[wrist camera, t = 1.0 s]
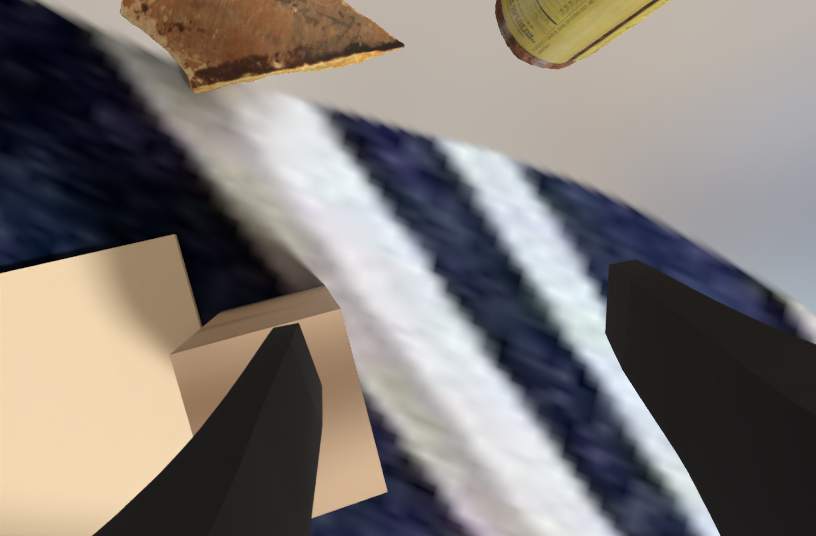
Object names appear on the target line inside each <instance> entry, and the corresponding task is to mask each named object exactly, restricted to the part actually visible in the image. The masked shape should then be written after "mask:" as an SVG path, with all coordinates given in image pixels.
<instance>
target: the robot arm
mask: <svg viewBox="0 0 816 536" xmlns="http://www.w3.org/2000/svg"><path fill="white" fill-rule="evenodd" d="M605 334H606V336H607V338H608V340H609V342H610V345H611V347H612V349H613V351H614V353H615V355H616V357H617V359H618V362H619V364H620V366H621V368H622V370H623V371H624V373H625V375H626V376H627V378H628V379H629V381H630V382H631V384H632V386H633V387H634V389H635V390H636V392H637V393H638V395H639V396H640V398H641V399H642V401H643V403H644V404H645V406H646V407H647V409H648V410H649V412H650V413H651V415H652V416H653V418H654V419H655V421H656V422H657V424H658V425H659V427H660V428H661V430H662V431H663V433H664V434H665V436H666V437H667V439H668V441H669V442H670V444H671V445H672V447H673V448H674V450H675V451H676V453H677V454H678V456H679V458H680V459H681V461H682V463H683V464H684V466H685V468H686V469H687V471H688V473H689V475H690V477H691V479H692V481H693V483H694V484H695V486H696V488H697V490H698V492H699V494H700V496H701V498H702V500H703V502H704V504H705V506H706V508H707V509H708V511H709V513H710V515H711V517H712V519H713V521H714V523H715V525H716V527H717V530H718V532H719V534H720V536H816V344H813V343H811V342H808V341H805V340H803V339H800V338H797V337H795V336H792V335H790V334H787V333H785V332H783V331H780V330H778V329H775V328H773V327H771V326H769V325H766V324H764V323H762V322H760V321H758V320H755V319H753V318H751V317H749V316H746V315H744V314H742V313H740V312H738V311H736V310H734V309H732V308H729V307H727V306H725V305H723V304H721V303H719V302H717V301H715V300H713V299H711V298H709V297H707V296H705V295H704V294H702V293H700V292H698V291H696V290H694V289H692V288H690V287H688V286H686V285H684V284H683V283H681V282H679V281H677V280H675V279H673V278H671V277H669V276H667V275H666V274H664V273H662V272H660V271H658V270H656V269H654V268H652V267H650V266H648V265H646V264H644V263H642V262H640V261H638V260H631V261H625V262H620V263H615V264H609V275H608V293H607V311H606V329H605ZM322 426H323V403H322V384H321V381H320V378H319V376H318V373H317V370H316V368H315V365H314V362H313V359H312V357H311V354H310V351H309V349H308V346H307V343H306V341H305V338H304V335H303V332H302V330H301V327H300V324H299V323H295V324H290V325H285V326H279V327H274V328H273V329H272V330H271V331H270V333H269V334H268V336H267V337H266V339H265V340H264V341H263V343H262V344H261V346H260V347H259V349H258V350H257V352H256V353H255V355H254V356H253V358H252V359H251V360H250V362H249V363H248V365H247V366H246V368H245V369H244V371H243V372H242V374H241V375H240V376H239V378H238V379H237V381H236V382H235V383H234V385H233V386H232V388H231V389H230V390H229V392H228V393H227V395H226V396H225V397H224V399H223V400H222V401H221V402H220V404H219V405H218V406H217V408H216V409H215V410H214V411H213V413H212V414H211V415H210V416H209V418H208V419H207V420H206V422H205V423H204V424H203V425H202V427H201V428H200V429H199V430H198V431H197V433H196V434H195V435H194V436H193V437H192V439H191V440H190V441H189V442H188V443H187V444H186V445H185V446H184V448H183V449H182V450H181V451H180V452H179V453H178V454H177V455H176V456H175V457H174V458H173V459H172V461H171V462H170V463H169V464H168V465H167V466H166V467H165V468H164V469H163V470H162V471H161V472H160V473H159V474H158V475H157V476H156V477H155V478H154V479H153V480H152V481H151V482H150V483H149V484H148V485H147V486H146V487H145V488H144V489H143V490H142V491H141V492H140V493H138V494H137V495H136V496H135V497H134V498H133V499H132V500H131V501H130V502H129V503H128V504H127V505H126V506H125V507H124V508H123V509H122V510H121V511H120V512H119V513H117V514H116V515H115V516H114V517H113V518H112V519H111V520H110V521H108V522H107V523H106V524H105V525H104V526H103V527H101V528H100V529H99V530H98V531H97V532H96V533H95V534H93V535H92V536H310V533H311V520H312V511H313V502H314V494H315V486H316V478H317V470H318V461H319V453H320V444H321V435H322Z"/></svg>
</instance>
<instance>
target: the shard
mask: <svg viewBox="0 0 816 536" xmlns="http://www.w3.org/2000/svg"><path fill="white" fill-rule="evenodd" d="M120 13H121V15H122V16H123V17H125V18H126V19H127V20H128V21H130V22H131V23H132V24H133V25H135V26H137V27H139V28H140V29H142V30H143V31H144V32H145V33H146V34H148V35H149V36H150V37H151V38H152V39H153V40H155V41H156V42H157V43H159V44H160V45H161V46H162V47H163V48H165V49H166V50H167V51H168V52H169V53H170V55H171V56H172V57H173V58H174V59H175V60H176V61H177V63H178V64H179V65H180V67H181V68H182V69H183V70H184V71H185V73H186V74H187V76H188V78H189V83H190V86H191V89H192V90H193V91H194V92H195V93H196V94H197V93H200V92H205V91H210V90H213V89H216V88H220V87H222V86H226V85H230V84H233V83H240V82H251V81H254V80H257V79H260V78H263V77H266V76H268V75H274V74H282V73H294V72H306V71H320V70H326V69H331V68H339V67H344V66H348V65H352V64H357V63H361V62H363V61H365V60H366V59H369V58H373V57H376V56H379V55H383V54H385V53H386V52H390V51H395V50H398V49H400V48H403V47H404V44H403V43H402V42H399V41H398V40H397V39H395V38H394V37H393V36H391V35H389V34H388V33H387V32H386V31H385V30H384V29H382V28H381V27H379V26H378V25H377V24H376V23H375V22H373V21H371V20H370V19H368V18H367V17H365V16H363V15H361V14H359V13H358V12H357V11H356V10H355V9H353V8H352V7H351V6H349V5H348V4H347V3H346V2H344V1H343V0H123V1H122V4H121V9H120Z"/></svg>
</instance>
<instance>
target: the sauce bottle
mask: <svg viewBox="0 0 816 536" xmlns="http://www.w3.org/2000/svg"><path fill="white" fill-rule="evenodd" d="M669 1H671V0H497V1H496V5H495V7H496V11H495V14H496V19H497V22H498V26H499V29H500V32H501V34H502V36H503V38H504V39H505V41H506V44H507V46H508V47H510V49H511V51H512V52H513V54H514V55H515V56H516V57H517V58H518V59H520V60H523V61H525V62H527V63H529V64H531V65H535V66H538V67H542V68H550V69H560V68H564V67H567V66H569V65H571V64H573V63H574V62H576V61H578V60H581V59H584V58H586V57H588V56H590V55H591V54H593V53H595V52H596V51H598V50H599V49H601V48H602V47H604V46H605V45H607V44H608V43H610V42H611V41H613V40H614V39H615V38H617V37H619V36H620V35H622V34H623V33H625V32H626V31H628V30H629V29H630V28H632V27H633V26H635V25H636V24H637V23H639V22H640V21H642V20H643V19H645V18H646V17H647V16H649V15H651V14H652V13H653V12H655V11H656V10H658V9H659V8H660V7H662V6H663V5H665V4H666V3H668V2H669Z"/></svg>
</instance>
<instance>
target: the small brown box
mask: <svg viewBox="0 0 816 536" xmlns="http://www.w3.org/2000/svg"><path fill="white" fill-rule="evenodd" d="M295 323H299V324H300V327H301V330H302V332H303V335H304V338H305V341H306V343H307V346H308V349H309V351H310V354H311V357H312V359H313V362H314V365H315V368H316V370H317V373H318V376H319V378H320V381H321V384H322V403H323V426H322V435H321V444H320V453H319V461H318V470H317V478H316V486H315V494H314V502H313V511H312V518H314V517H316V516H319V515H322V514H325V513H328V512H331V511H334V510H337V509H339V508H342V507H345V506H348V505H351V504H354V503H357V502H359V501H362V500H365V499H368V498H371V497H374V496H377V495H380V494H382V493H385V492H387V488H386V484H385V480H384V476H383V473H382V469H381V465H380V461H379V457H378V453H377V449H376V445H375V441H374V437H373V433H372V429H371V426H370V422H369V418H368V414H367V410H366V406H365V402H364V398H363V394H362V390H361V386H360V383H359V379H358V375H357V371H356V367H355V363H354V359H353V355H352V351H351V347H350V343H349V339H348V336H347V332H346V328H345V324H344V320H343V316H342V312H341V308H340V307H339V306H338V304H337V303H336V301H335V300H334V298H333V297H332V295H331V294H330V293H329V291H328V290H327V288H326V287H325V285H321V286H317V287H313V288H309V289H305V290H302V291H298V292H294V293H290V294H286V295H282V296H278V297H275V298H271V299H267V300H263V301H259V302H255V303H251V304H247V305H244V306H240V307H236V308H232V309H228V310H224V311H221V312H220V313H219V314H217V315H216V316H215V317H214V318H213V319H211V320H210V321H209V322H208V323H207V324H206V325H204V326H203V327H202V328H201V329H200V330H198V331H197V332H196V333H195V334H194V335H192V336H191V337H190V338H189V339H188V340H186V341H185V342H184V343H183V344H182V345H180V346H179V347H178V348H177V349H176V350H174V351H173V352H172V353H171V354H170V359H171V362H172V366H173V369H174V373H175V376H176V379H177V383H178V386H179V390H180V393H181V397H182V400H183V404H184V407H185V411H186V414H187V417H188V421H189V424H190V428H191V431H192V435H193V436H194V435H195V434H196V433H197V431H198V430H199V429H200V428H201V427H202V425H203V424H204V423H205V422H206V420H207V419H208V418H209V416H210V415H211V414H212V413H213V411H214V410H215V409H216V408H217V406H218V405H219V404H220V402H221V401H222V400H223V399H224V397H225V396H226V395H227V393H228V392H229V390H230V389H231V388H232V386H233V385H234V383H235V382H236V381H237V379H238V378H239V376H240V375H241V374H242V372H243V371H244V369H245V368H246V366H247V365H248V363H249V362H250V360H251V359H252V358H253V356H254V355H255V353H256V352H257V350H258V349H259V347H260V346H261V344H262V343H263V341H264V340H265V339H266V337H267V336H268V334H269V333H270V331H271V330H272V329H273V328H274V327H279V326H285V325H290V324H295Z"/></svg>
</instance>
